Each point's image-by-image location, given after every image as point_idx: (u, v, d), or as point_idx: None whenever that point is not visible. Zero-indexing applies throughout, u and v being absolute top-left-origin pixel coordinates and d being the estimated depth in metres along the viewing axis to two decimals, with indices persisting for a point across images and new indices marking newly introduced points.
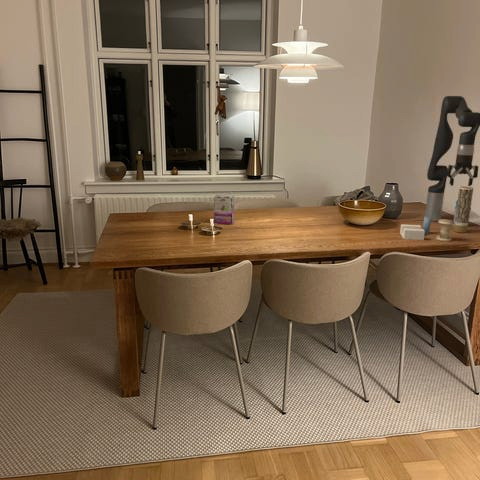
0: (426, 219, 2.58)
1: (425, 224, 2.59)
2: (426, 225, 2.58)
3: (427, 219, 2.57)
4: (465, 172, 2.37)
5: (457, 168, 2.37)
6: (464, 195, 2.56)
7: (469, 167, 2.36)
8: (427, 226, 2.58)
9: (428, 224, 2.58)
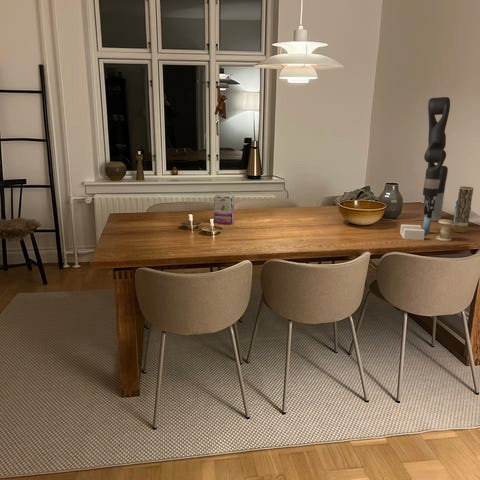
0: (426, 219, 2.58)
1: (425, 224, 2.59)
2: (426, 225, 2.58)
3: (427, 219, 2.57)
4: None
5: None
6: (464, 195, 2.56)
7: None
8: (427, 226, 2.58)
9: (428, 224, 2.58)
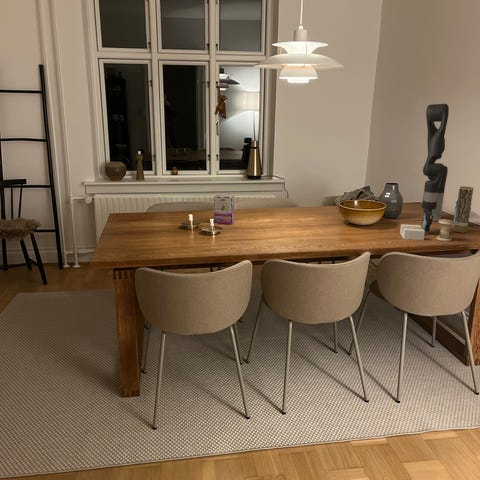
0: None
1: (425, 224, 2.59)
2: None
3: None
4: None
5: None
6: (464, 195, 2.56)
7: None
8: None
9: None
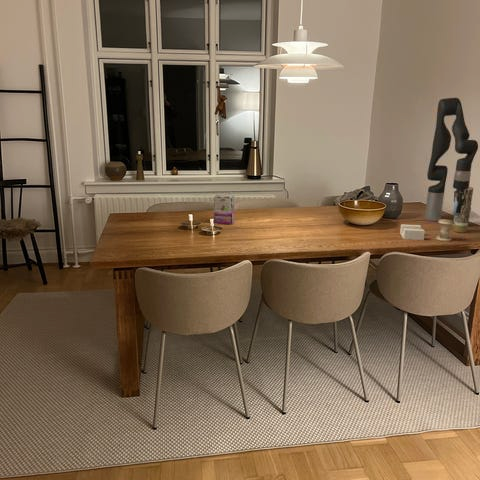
0: None
1: (456, 205, 2.45)
2: None
3: None
4: None
5: None
6: None
7: None
8: None
9: None
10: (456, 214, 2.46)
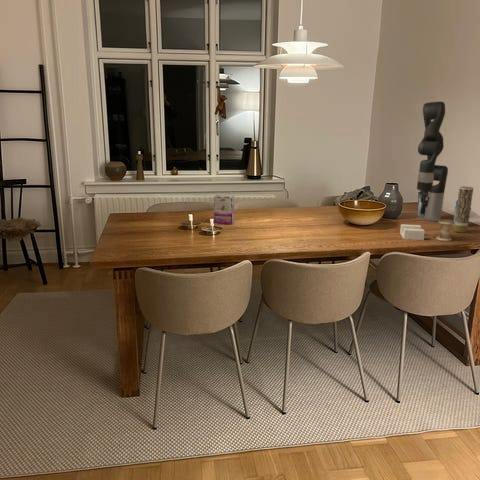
0: None
1: (420, 206, 2.47)
2: None
3: None
4: None
5: None
6: (463, 195, 2.56)
7: None
8: None
9: None
10: (420, 215, 2.48)
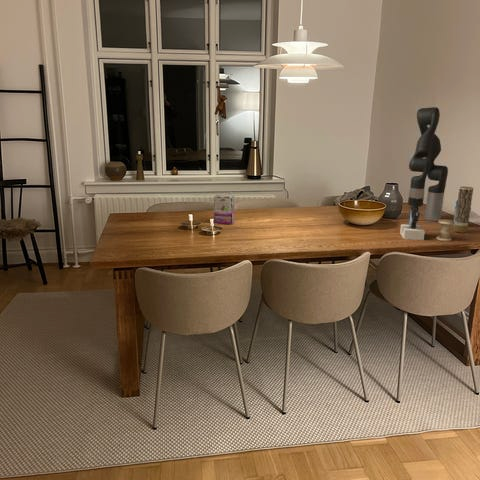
0: None
1: (411, 221, 2.51)
2: None
3: None
4: None
5: (417, 212, 2.48)
6: (464, 195, 2.56)
7: None
8: None
9: None
10: None
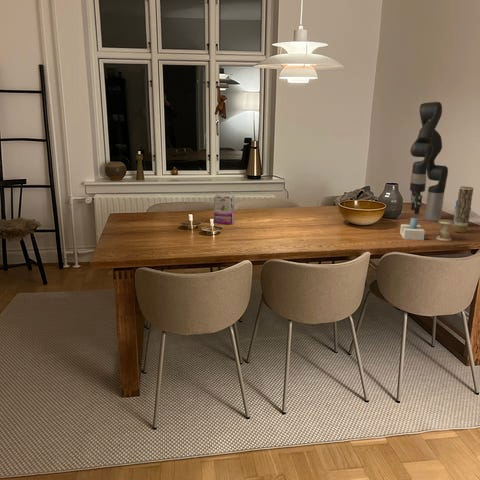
0: (413, 220, 2.52)
1: (411, 225, 2.52)
2: (412, 225, 2.52)
3: (414, 220, 2.51)
4: None
5: None
6: (464, 195, 2.56)
7: None
8: (413, 227, 2.52)
9: (414, 225, 2.52)
10: None
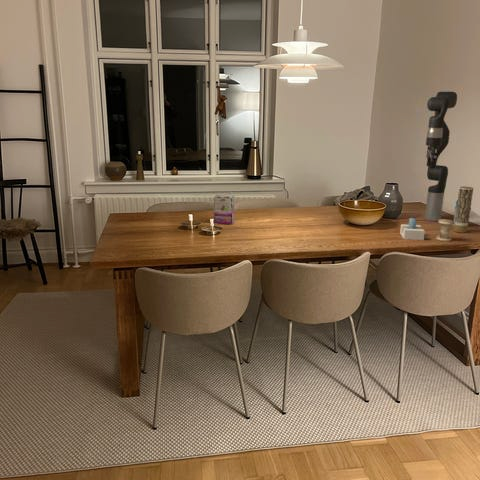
0: (411, 220, 2.51)
1: (410, 225, 2.52)
2: (411, 226, 2.52)
3: (412, 220, 2.51)
4: None
5: None
6: (464, 195, 2.56)
7: None
8: (413, 227, 2.52)
9: (413, 225, 2.52)
10: None
